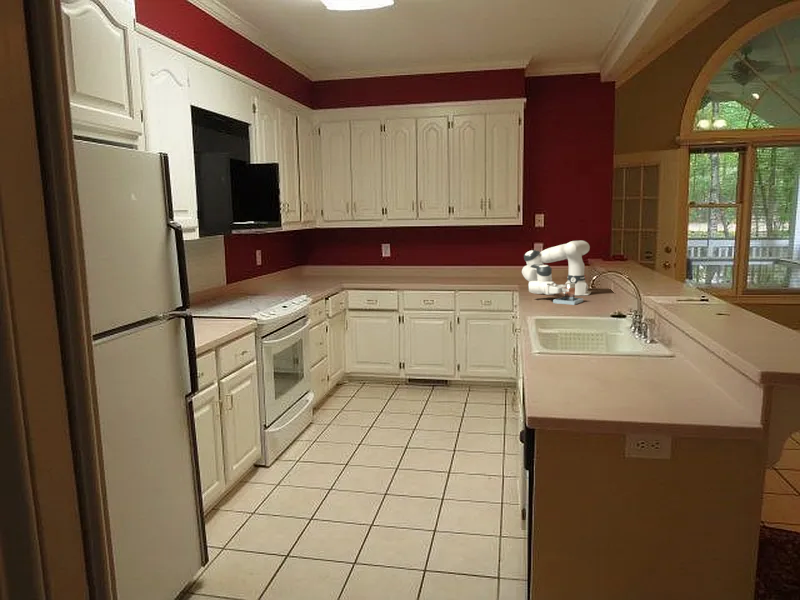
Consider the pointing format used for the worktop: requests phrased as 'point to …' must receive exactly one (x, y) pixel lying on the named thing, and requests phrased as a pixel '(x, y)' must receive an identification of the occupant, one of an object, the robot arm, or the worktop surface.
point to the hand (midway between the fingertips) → (571, 289)
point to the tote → (563, 301)
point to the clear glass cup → (570, 292)
